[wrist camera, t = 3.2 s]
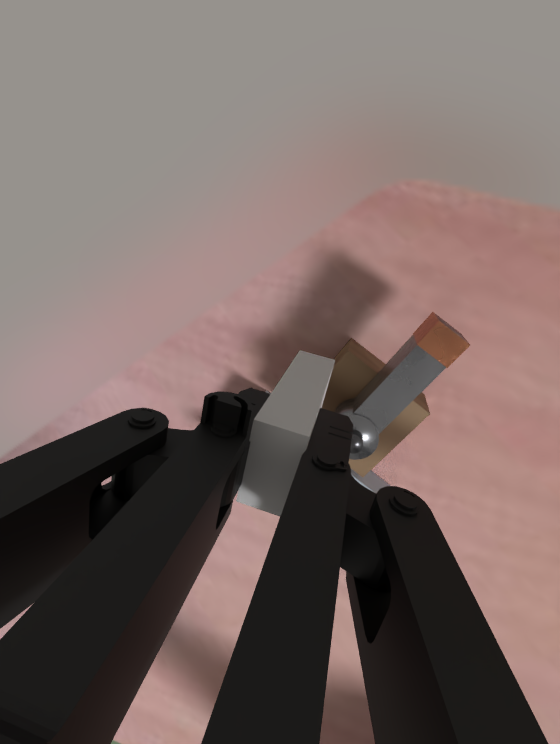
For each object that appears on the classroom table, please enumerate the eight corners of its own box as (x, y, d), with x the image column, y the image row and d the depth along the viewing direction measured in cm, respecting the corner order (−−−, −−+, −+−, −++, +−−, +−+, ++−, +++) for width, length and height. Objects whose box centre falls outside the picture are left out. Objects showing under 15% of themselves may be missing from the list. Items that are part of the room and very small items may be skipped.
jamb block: (364, 453, 37) (362, 477, 33) (297, 402, 37) (288, 420, 33) (424, 394, 34) (429, 413, 30) (351, 338, 34) (348, 350, 30)
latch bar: (358, 446, 32) (356, 476, 28) (324, 420, 32) (317, 445, 28) (466, 338, 27) (481, 355, 24) (426, 307, 27) (434, 318, 24)
